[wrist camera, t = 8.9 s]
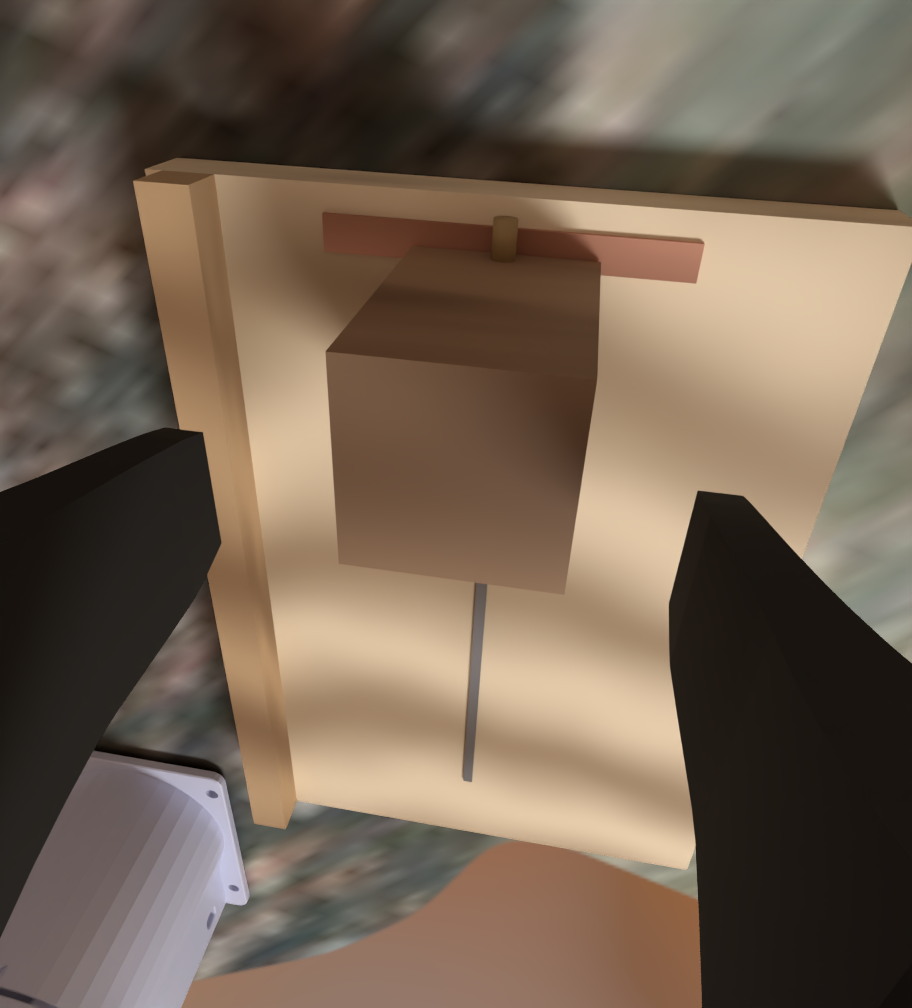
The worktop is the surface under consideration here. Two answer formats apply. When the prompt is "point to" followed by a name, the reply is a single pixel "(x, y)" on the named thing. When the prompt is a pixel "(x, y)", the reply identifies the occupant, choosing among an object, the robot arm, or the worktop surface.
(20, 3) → the worktop surface
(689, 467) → the board
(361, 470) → the wooden block
